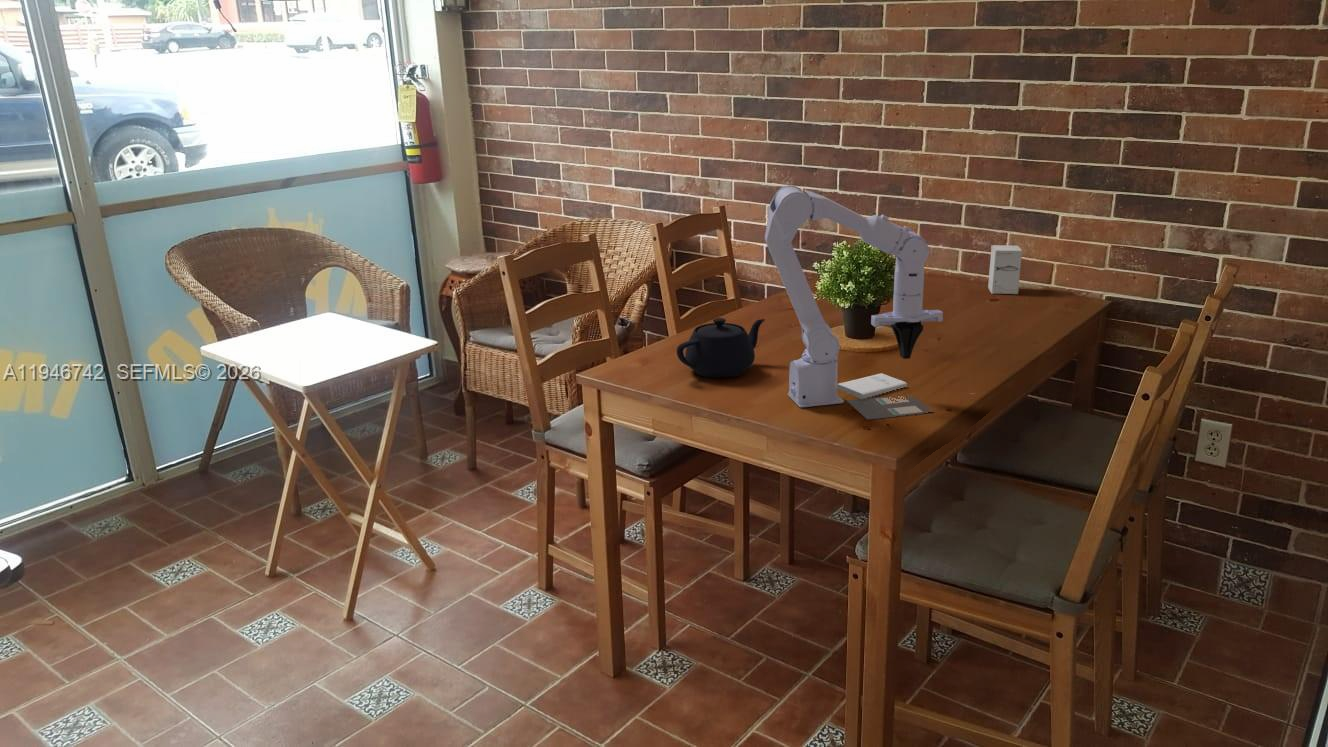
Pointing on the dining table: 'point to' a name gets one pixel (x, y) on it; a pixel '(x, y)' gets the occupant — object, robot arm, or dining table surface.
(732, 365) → the teapot
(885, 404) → the bay plate
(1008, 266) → the supplement box
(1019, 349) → the dining table surface
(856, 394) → the external hard drive
